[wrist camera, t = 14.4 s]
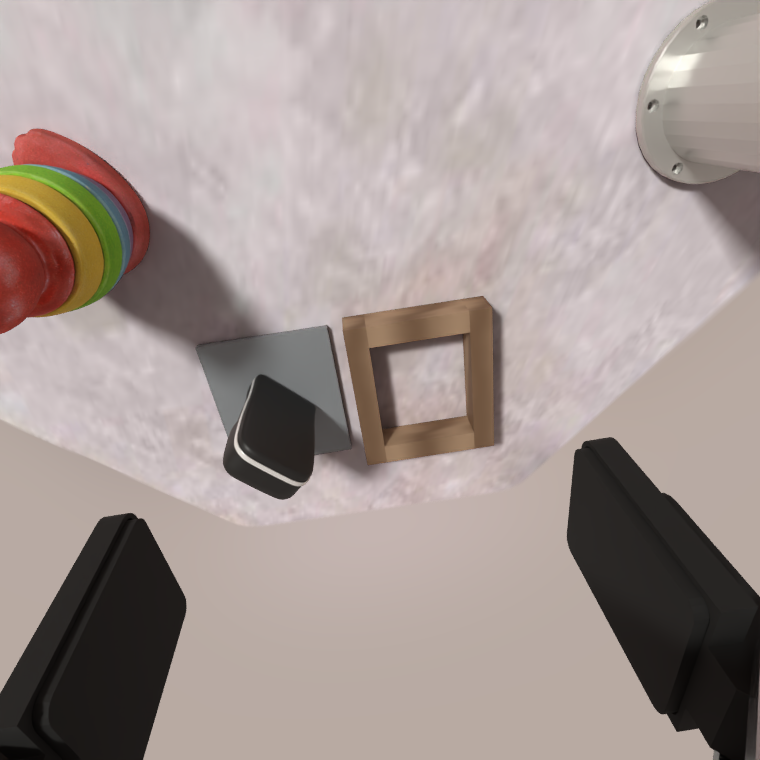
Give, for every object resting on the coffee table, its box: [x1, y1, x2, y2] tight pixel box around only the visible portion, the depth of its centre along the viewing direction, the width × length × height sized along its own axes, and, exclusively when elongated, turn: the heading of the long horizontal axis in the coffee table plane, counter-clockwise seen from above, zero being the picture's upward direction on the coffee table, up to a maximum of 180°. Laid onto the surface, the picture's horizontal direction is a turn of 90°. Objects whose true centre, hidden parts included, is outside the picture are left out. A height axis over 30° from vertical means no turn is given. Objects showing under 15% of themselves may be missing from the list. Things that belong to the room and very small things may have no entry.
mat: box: [196, 325, 351, 455], centre depth 47 cm, size 12×14×1 cm
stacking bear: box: [0, 129, 150, 334], centre depth 30 cm, size 11×10×18 cm
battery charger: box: [223, 374, 316, 500], centre depth 42 cm, size 7×4×11 cm, turn 51°
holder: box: [342, 296, 494, 465], centre depth 46 cm, size 13×15×3 cm
